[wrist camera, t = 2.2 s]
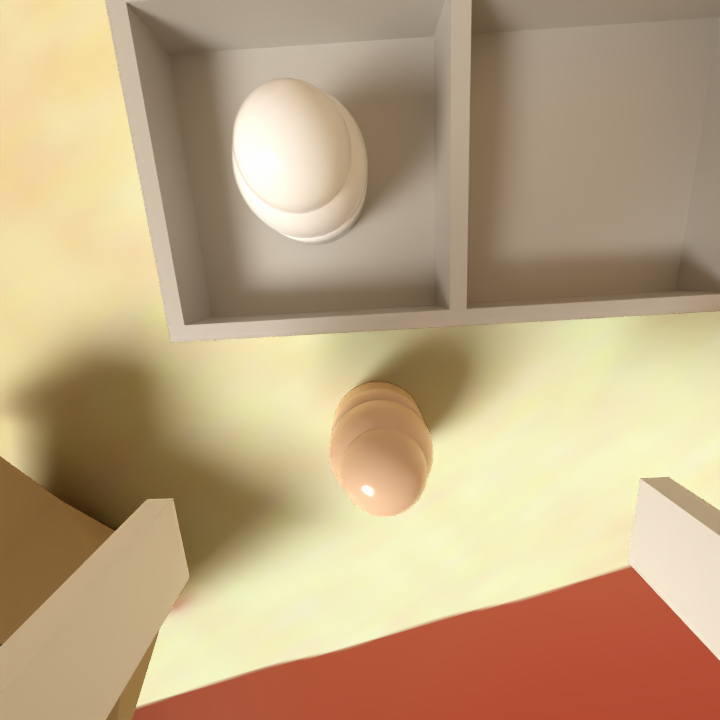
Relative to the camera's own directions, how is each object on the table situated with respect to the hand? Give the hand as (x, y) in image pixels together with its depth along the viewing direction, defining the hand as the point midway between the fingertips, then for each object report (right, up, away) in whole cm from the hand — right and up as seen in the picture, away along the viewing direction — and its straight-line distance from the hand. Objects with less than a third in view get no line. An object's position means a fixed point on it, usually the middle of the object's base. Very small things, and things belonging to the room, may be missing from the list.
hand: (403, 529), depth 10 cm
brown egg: (0, +2, +7) cm, 7 cm away
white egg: (-3, +12, +4) cm, 13 cm away
